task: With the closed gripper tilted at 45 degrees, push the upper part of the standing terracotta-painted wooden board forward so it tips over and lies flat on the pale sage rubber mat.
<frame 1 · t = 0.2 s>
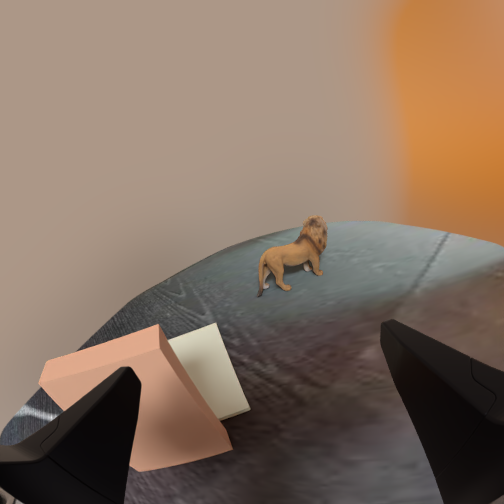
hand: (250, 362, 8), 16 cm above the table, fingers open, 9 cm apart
terracotta board: (181, 453, 20), on the table
rubber mat: (170, 382, 29), on the table
lion figurine: (298, 278, 44), on the table
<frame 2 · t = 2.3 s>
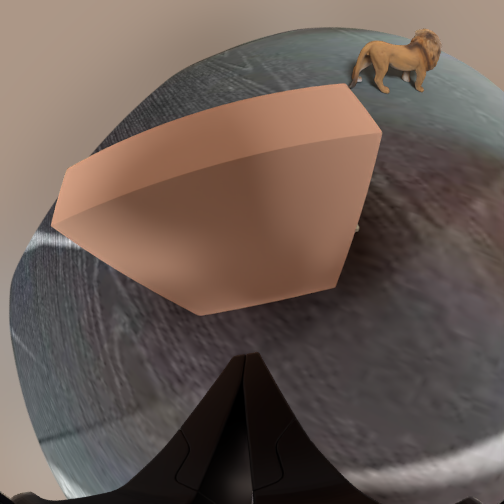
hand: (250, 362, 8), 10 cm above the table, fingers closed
terracotta board: (262, 286, 19), on the table
lion figurine: (394, 84, 27), on the table
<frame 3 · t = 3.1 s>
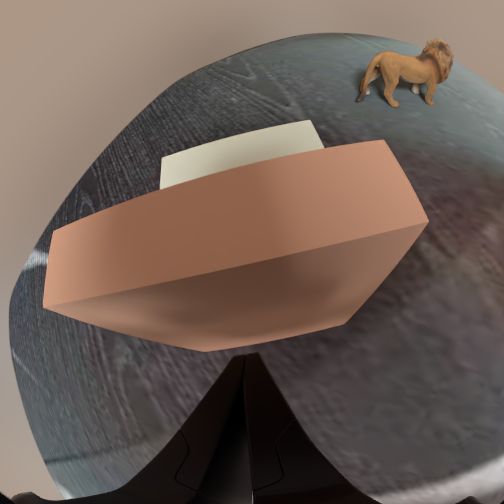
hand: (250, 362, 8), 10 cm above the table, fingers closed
terracotta board: (270, 323, 18), on the table
rubber mat: (246, 199, 23), on the table
lion figurine: (404, 96, 26), on the table
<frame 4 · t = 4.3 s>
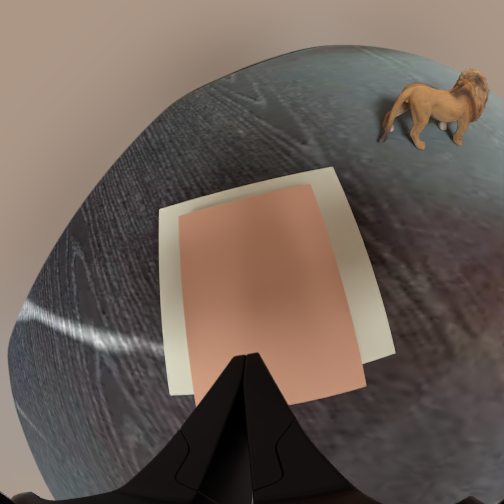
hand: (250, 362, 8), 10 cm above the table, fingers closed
terracotta board: (282, 403, 15), point 2 cm above the table, tilted 90°, touching rubber mat
rubber mat: (260, 274, 20), on the table
lion figurine: (430, 133, 23), on the table
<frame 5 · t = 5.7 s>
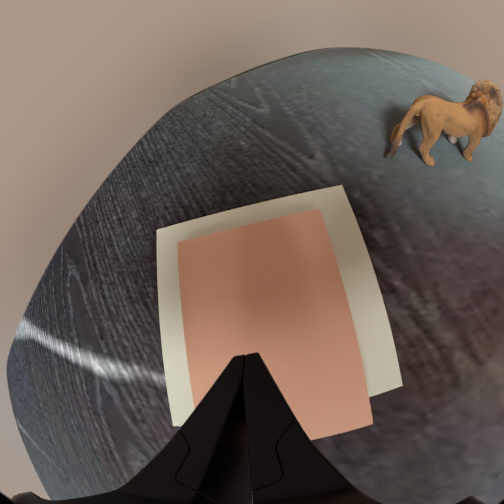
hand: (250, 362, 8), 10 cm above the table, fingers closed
terracotta board: (287, 438, 13), point 2 cm above the table, tilted 90°, touching rubber mat
rubber mat: (265, 304, 19), on the table
lion figurine: (439, 147, 22), on the table
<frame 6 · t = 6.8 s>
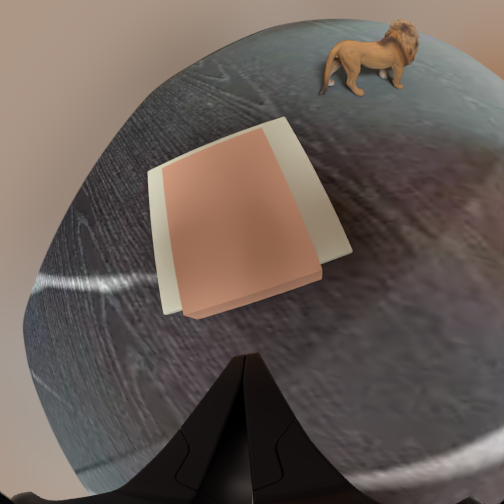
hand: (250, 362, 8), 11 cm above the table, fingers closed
terracotta board: (254, 297, 19), point 2 cm above the table, tilted 90°, touching rubber mat
rubber mat: (231, 203, 24), on the table
lion figurine: (371, 83, 26), on the table
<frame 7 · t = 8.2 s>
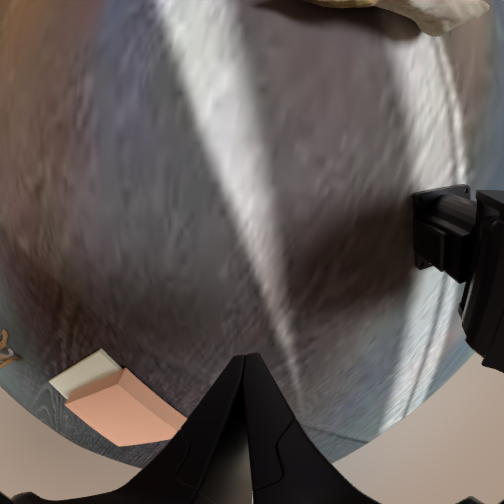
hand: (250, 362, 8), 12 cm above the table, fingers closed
terracotta board: (155, 404, 24), point 2 cm above the table, tilted 90°, touching rubber mat
rubber mat: (115, 407, 28), on the table
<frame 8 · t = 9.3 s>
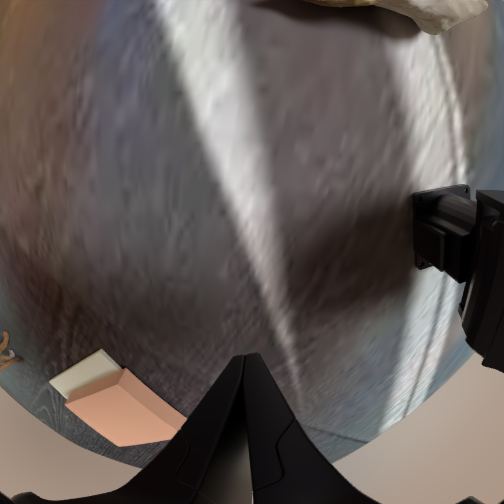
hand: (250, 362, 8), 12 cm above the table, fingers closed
terracotta board: (155, 404, 24), point 2 cm above the table, tilted 90°, touching rubber mat
rubber mat: (115, 407, 28), on the table
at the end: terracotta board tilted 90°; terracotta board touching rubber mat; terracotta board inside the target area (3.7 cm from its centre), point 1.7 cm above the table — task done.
